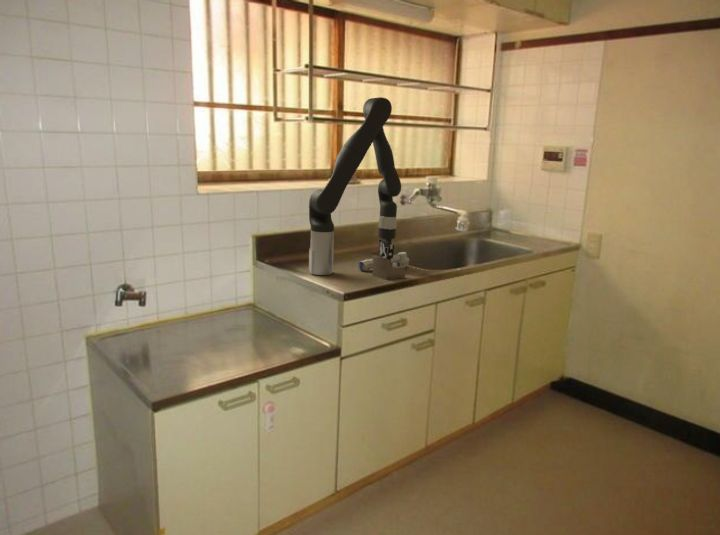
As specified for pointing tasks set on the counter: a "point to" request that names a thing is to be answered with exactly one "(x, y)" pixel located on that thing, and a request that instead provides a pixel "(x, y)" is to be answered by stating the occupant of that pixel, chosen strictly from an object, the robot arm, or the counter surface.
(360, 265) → the grey piece
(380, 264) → the cup bracket
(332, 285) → the counter surface
